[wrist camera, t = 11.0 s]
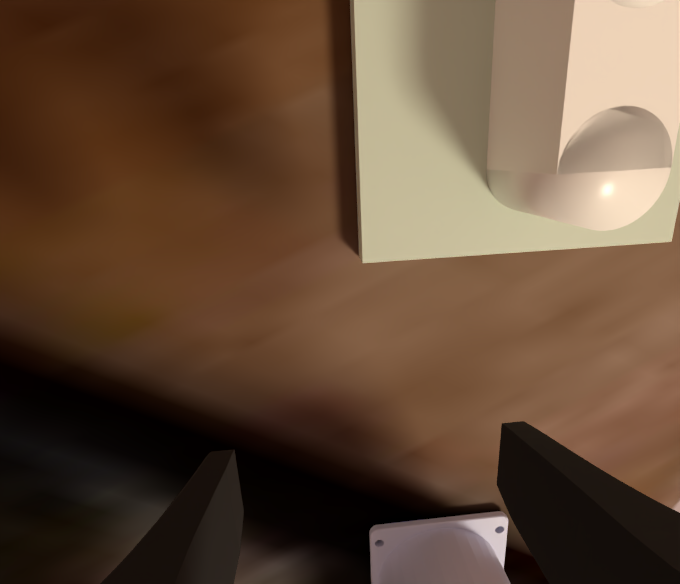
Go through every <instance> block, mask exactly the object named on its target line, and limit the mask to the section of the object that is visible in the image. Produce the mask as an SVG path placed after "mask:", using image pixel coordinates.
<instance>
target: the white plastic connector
mask: <svg viewBox="0 0 680 584" xmlns="http://www.w3.org/2000/svg"><path fill="white" fill-rule="evenodd" d="M679 123H680V0H496V2H495V20H494V39H493V58H492V76H491V95H490V113H489V132H488V151H487V182H488V185H489V188H490V190H491V192H492V194H493V196H494V197H495V198H496V199H497V201H499V202H500V203H501V204H502V205H504V206H505V207H508V208H510V209H513V210H517V211H520V212H524V213H528V214H532V215H536V216H540V217H544V218H548V219H552V220H556V221H559V222H563V223H567V224H571V225H575V226H579V227H583V228H587V229H591V230H597V231H608V230H614V229H618V228H621V227H624V226H626V225H628V224H630V223H632V222H634V221H635V220H637V219H638V218H640V217H641V216H642V215H643V214H645V213H646V212H647V211H648V210H649V209H650V208H651V207H652V206H653V205H654V203H655V202H656V201H657V199H658V198H659V196H660V195H661V193H662V192H663V190H664V188H665V185H666V183H667V181H668V178H669V175H670V171H671V166H672V161H673V156H674V150H675V145H676V139H677V134H678V129H679Z"/></svg>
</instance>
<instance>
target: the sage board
mask: <svg viewBox="0 0 680 584" xmlns="http://www.w3.org/2000/svg"><path fill="white" fill-rule="evenodd" d="M495 2H496V0H350V19H351V47H352V75H353V103H354V131H355V159H356V187H357V215H358V243H359V258H360V259H361V261H362V263H371V262H386V261H400V260H415V259H429V258H444V257H458V256H472V255H487V254H501V253H516V252H530V251H545V250H559V249H574V248H588V247H603V246H617V245H631V244H646V243H660V242H671V241H672V236H673V231H674V226H675V221H676V216H677V211H678V206H679V201H680V123H679V129H678V134H677V139H676V145H675V150H674V156H673V161H672V166H671V171H670V175H669V178H668V181H667V183H666V185H665V188H664V190H663V192H662V193H661V195H660V196H659V198H658V199H657V201H656V202H655V203H654V205H653V206H652V207H651V208H650V209H649V210H648V211H647V212H646V213H645V214H643V215H642V216H641V217H640V218H638V219H637V220H635V221H634V222H632V223H630V224H628V225H626V226H624V227H621V228H618V229H614V230H608V231H597V230H591V229H587V228H583V227H579V226H575V225H571V224H567V223H563V222H559V221H556V220H552V219H548V218H544V217H540V216H536V215H532V214H528V213H524V212H520V211H517V210H513V209H510V208H508V207H505V206H504V205H502V204H501V203H500V202H499V201H497V199H496V198H495V197H494V196H493V194H492V192H491V190H490V188H489V185H488V182H487V151H488V132H489V113H490V95H491V76H492V58H493V39H494V20H495Z"/></svg>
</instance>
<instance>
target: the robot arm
mask: <svg viewBox="0 0 680 584" xmlns="http://www.w3.org/2000/svg"><path fill="white" fill-rule="evenodd" d="M497 486H498V488H499V491H500V493H501V495H502V498H503V500H504V503H505V505H506V507H507V509H508V511H509V514H510V516H511V518H512V520H513V522H514V524H515V526H516V528H517V529H518V531H519V533H520V534H521V536H522V538H523V540H524V541H525V543H526V545H527V546H528V548H529V550H530V552H531V553H532V555H533V557H534V558H535V560H536V562H537V563H538V565H539V567H540V568H541V570H542V572H543V574H544V575H545V577H546V579H547V580H548V582H549V584H680V513H679V512H677V511H675V510H673V509H671V508H669V507H667V506H665V505H663V504H661V503H659V502H657V501H655V500H653V499H651V498H650V497H648V496H646V495H644V494H642V493H641V492H639V491H637V490H635V489H634V488H632V487H630V486H628V485H626V484H625V483H623V482H621V481H619V480H618V479H616V478H614V477H613V476H611V475H609V474H608V473H606V472H604V471H603V470H601V469H599V468H598V467H596V466H594V465H593V464H591V463H589V462H588V461H586V460H585V459H583V458H581V457H580V456H578V455H577V454H575V453H574V452H572V451H570V450H569V449H567V448H566V447H564V446H563V445H561V444H559V443H558V442H556V441H555V440H553V439H552V438H550V437H549V436H547V435H545V434H544V433H542V432H541V431H539V430H537V429H536V428H534V427H532V426H531V425H529V424H527V423H526V422H524V421H522V422H512V423H502V428H501V440H500V452H499V464H498V476H497ZM243 515H244V509H243V503H242V496H241V490H240V483H239V477H238V470H237V464H236V457H235V450H234V449H233V450H223V451H213V452H210V453H209V454H208V455H207V456H206V458H205V459H204V461H203V462H202V463H201V465H200V466H199V467H198V469H197V470H196V472H195V473H194V474H193V476H192V477H191V478H190V480H189V481H188V482H187V484H186V485H185V486H184V488H183V489H182V490H181V492H180V493H179V494H178V496H177V497H176V498H175V499H174V501H173V502H172V503H171V505H170V506H169V507H168V508H167V510H166V511H165V512H164V513H163V515H162V516H161V517H160V518H159V520H158V521H157V522H156V523H155V524H154V526H153V527H152V528H151V529H150V530H149V531H148V533H147V534H146V535H145V536H144V537H143V538H142V539H141V541H140V542H139V543H138V544H137V545H136V546H135V548H134V549H133V550H132V551H131V552H130V553H129V554H128V555H127V556H126V558H125V559H124V560H123V561H122V562H121V563H120V564H119V565H118V566H117V567H116V568H115V569H114V570H113V571H112V572H111V573H110V574H109V575H108V576H107V577H106V578H105V579H104V580H103V581H102V582H101V584H234V579H235V574H236V569H237V564H238V559H239V554H240V546H241V537H242V526H243ZM507 529H508V518H507V516H506V515H505V513H504V512H501V511H496V512H487V513H478V514H469V515H460V516H451V517H442V518H433V519H424V520H415V521H406V522H397V523H388V524H379V525H375V526H373V527H372V528H371V529H370V532H369V537H370V565H371V584H510V582H509V580H508V578H507V575H506V573H505V571H504V560H505V550H506V540H507ZM377 540H380V541H377Z"/></svg>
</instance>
